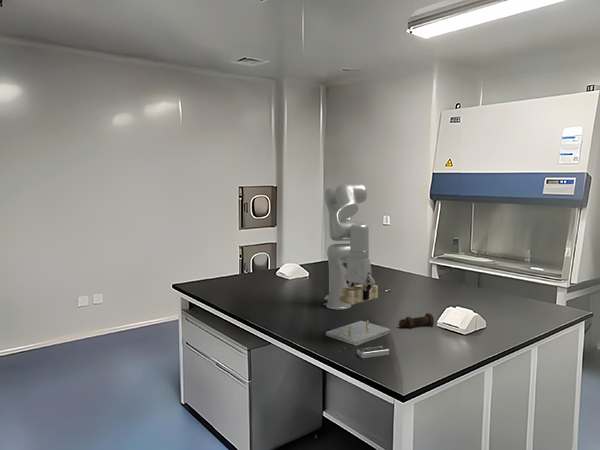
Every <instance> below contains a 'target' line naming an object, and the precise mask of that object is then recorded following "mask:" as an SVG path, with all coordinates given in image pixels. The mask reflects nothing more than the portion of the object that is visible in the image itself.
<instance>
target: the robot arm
mask: <svg viewBox="0 0 600 450" xmlns="http://www.w3.org/2000/svg"><path fill="white" fill-rule="evenodd" d="M367 198H368V190H367V188H366V186H365V185H364V184H362V183H341V184H339V185H336V186H329V187H327V188H326V189H325V190H324V201H325V204H326V208H327V211H328V215H329V217H328V220H329V236H330V237H329V238H330V239H331V240H332V241H336V242H346V241H347V242H349V243H333V244H330V245H329V246H328V247H327V249H326V256H327V260H328V261H327V262H328V294H327V295H326V296H325V297H324V300H326V301H327V302H326V303H325V308H327V309H331V310H347V309H350V308H352V304H348V303H344V302H340V289H343V288H348V287H352V286H356V284H357V285H361V284H362V285H363V288H364V291H363V300H364V301H363V302H366V301H365V300H367V301H370V300H369V290H370V289H371V288H372V287H373V285H376V280H375V279H374V278H373V277H372V266H371V265H372V264H371V260H370V259H371V258H370V257H369V255H370V254H369V251H370V250H369V247H370V244H369V242H370V241H369V240H370V239H369V237H370V236H369V235H370V233H369V231H370V230H369V229H370V228H369V225H367V223H365V222H362V221H361V222H360V221H359V222H358V221H347V219H349V218H352V217H353V216H355V215H356V214H357V213H358V212H359V211H358V210H359V204H361V203H364V202H365V201H366V200H367ZM344 264H346V266H345V265H344ZM366 286H367V287H366Z"/></svg>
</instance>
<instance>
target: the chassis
mask: <svg viewBox="0 0 600 450" xmlns="http://www.w3.org/2000/svg"><path fill="white" fill-rule="evenodd" d="M391 333H392V329H391V328H389V327H385V326H382V325H378V324H374V323H370V322H369V320H368V319H367V320H365V321H363V320H359V321H355V322H353V323H350V324H347V325H344V326H340V327H337V328H334V329H331V330H329V331H325V336H327V337H329V338H332V339H335V340H338V341H341V342H344V343H347V344H349V345H353V346H355V347H357V346H359V345H362V344H365V343H366V342H370V341H372V340H375V339H378V338H381V337H383V336H384V337H385V336H386V335H388V334H391Z"/></svg>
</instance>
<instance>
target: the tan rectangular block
mask: <svg viewBox="0 0 600 450" xmlns="http://www.w3.org/2000/svg"><path fill="white" fill-rule="evenodd" d="M366 287H367V286H366ZM363 291H364V288H363V285H362V284H355V286H352V287H348V288H343V289H340V302H344V303H348V304H351V305H355V304H359V303H363V302H368V301H370V300H374V299H378V298H379V285H376V284H374V285H373V287H372V288H371V289H370V290H369V300H365V301H364V300H363Z"/></svg>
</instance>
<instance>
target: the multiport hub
mask: <svg viewBox="0 0 600 450" xmlns="http://www.w3.org/2000/svg"><path fill="white" fill-rule="evenodd" d="M356 350H357V351H356V352H357V354H356V355H358V356H359V358H361V359H370V358H375V357H383V356H389V355H390V349H389V348H388V347H387V346H385V345H378V346H371V347H362V348H358V349H356Z"/></svg>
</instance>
